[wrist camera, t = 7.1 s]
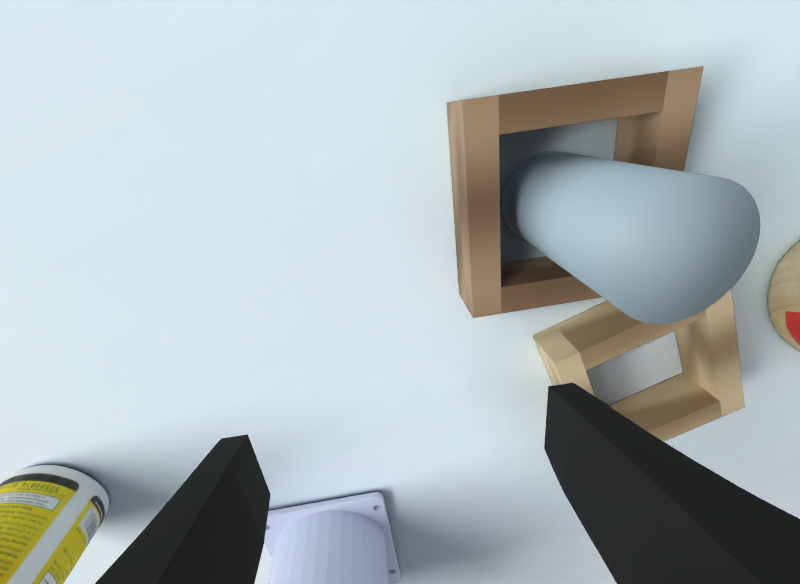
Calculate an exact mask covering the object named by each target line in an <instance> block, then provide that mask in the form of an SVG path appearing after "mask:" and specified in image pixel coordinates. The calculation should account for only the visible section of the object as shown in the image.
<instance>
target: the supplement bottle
mask: <svg viewBox="0 0 800 584" xmlns="http://www.w3.org/2000/svg"><path fill="white" fill-rule="evenodd" d="M108 509H109V498H108V495H107V493H106V491H105V490H104V488H103V487H102V486H101V485H100V484H99V483H98V482H97V481H95V480H94V479H93V478H91V477H89V476H88V475H86V474H84V473H82V472H79V471H77V470H74V469H70V468H67V467H63V466H56V465H40V466H32V467H28V468H24V469H21V470H19V471H17V472H15V473H13V474H12V475H10V476H9V477H8V478H6V479H5V480H4V481H3V482H2V483H1V484H0V584H63V583H64V582H65V580H66V578H67V577H68V575H69V574H70V572H71V571H72V569H73V567H74V566H75V564H76V563H77V561H78V559H79V558H80V556H81V555H82V553H83V552H84V550H85V548H86V547H87V545H88V544H89V542H90V540H91V539H92V537H93V536H94V534H95V533H96V531H97V529H98V528H99V526H100V525H101V523H102V521H103V519H104V518H105V516H106V514H107V511H108Z"/></svg>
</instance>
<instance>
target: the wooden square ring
mask: <svg viewBox="0 0 800 584" xmlns="http://www.w3.org/2000/svg"><path fill="white" fill-rule="evenodd" d="M703 67H704V66H702V67H695V68H688V69H680V70H673V71H666V72H659V73H652V74H645V75H638V76H631V77H624V78H616V79H609V80H602V81H595V82H588V83H581V84H574V85H567V86H559V87H552V88H545V89H538V90H531V91H524V92H517V93H510V94H503V95H495V96H488V97H481V98H474V99H467V100H460V101H454V102H448V103H447V115H448V130H449V145H450V161H451V176H452V191H453V207H454V222H455V237H456V252H457V268H458V283H459V294H460V296H461V298H462V299H463V301H464V303H465V305H466V306H467V308H468V310H469V312H470V313H471V315H472V317H473V318H476V317H482V316H488V315H495V314H501V313H507V312H513V311H519V310H525V309H532V308H538V307H544V306H550V305H556V304H562V303H569V302H575V301H581V300H587V299H593V298H600V297H602V296H600V295H599V294H598V293H596V292H595V291H594V290H592V289H591V288H589V287H588V286H587V285H585V284H584V283H583V282H581V281H580V280H578V279H577V278H576V277H574V276H573V275H572V274H570V273H569V272H568V271H566V270H565V269H563V268H562V267H561V266H559V265H558V264H557V263H555V262H554V261H552V260H551V259H550V258H548V257H547V256H546V257H540V258H534V259H527V260H521V261H514V262H508V263H502V264H501V253H500V170H499V135H500V134H507V133H514V132H521V131H528V130H535V129H542V128H549V127H556V126H563V125H570V124H577V123H583V122H590V121H597V120H604V119H611V118H618V125H617V134H616V143H615V152H614V161H620V162H627V163H633V164H639V165H645V166H652V167H658V168H664V169H670V170H677V171H684V166H685V161H686V156H687V150H688V145H689V140H690V135H691V130H692V124H693V119H694V114H695V109H696V103H697V98H698V93H699V88H700V82H701V77H702V72H703Z"/></svg>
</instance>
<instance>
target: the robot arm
mask: <svg viewBox="0 0 800 584" xmlns="http://www.w3.org/2000/svg"><path fill="white" fill-rule="evenodd" d="M544 449H545V451H546V453H547V456H548V458H549V460H550V463H551V465H552V467H553V470H554V472H555V474H556V476H557V479H558V481H559V483H560V485H561V487H562V489H563V491H564V493H565V495H566V497H567V498H568V500H569V502H570V504H571V505H572V507H573V509H574V511H575V512H576V514H577V516H578V518H579V519H580V521H581V523H582V525H583V526H584V528H585V530H586V531H587V533H588V535H589V537H590V538H591V540H592V542H593V543H594V545H595V547H596V548H597V550H598V552H599V554H600V555H601V557H602V559H603V560H604V562H605V564H606V566H607V567H608V569H609V571H610V572H611V574H612V576H613V577H614V579H615V581H616V583H617V584H800V519H799V518H797V517H795V516H793V515H791V514H789V513H787V512H785V511H783V510H781V509H779V508H777V507H776V506H774V505H772V504H770V503H768V502H766V501H764V500H762V499H760V498H758V497H757V496H755V495H753V494H751V493H749V492H748V491H746V490H744V489H742V488H740V487H738V486H737V485H735V484H733V483H731V482H730V481H728V480H726V479H725V478H723V477H721V476H719V475H718V474H716V473H714V472H713V471H711V470H709V469H707V468H706V467H704V466H702V465H701V464H699V463H697V462H695V461H694V460H692V459H691V458H689V457H687V456H686V455H684V454H682V453H681V452H679V451H677V450H676V449H674V448H673V447H671V446H669V445H668V444H666V443H665V442H663V441H661V440H660V439H658V438H657V437H655V436H654V435H652V434H651V433H649V432H647V431H646V430H644V429H643V428H641V427H640V426H638V425H637V424H635V423H634V422H632V421H631V420H629V419H628V418H626V417H625V416H623V415H622V414H620V413H619V412H617V411H616V410H614V409H613V408H611V407H610V406H608V405H607V404H605V403H604V402H602V401H601V400H599V399H598V398H596V397H595V396H593V395H592V394H590V393H589V392H587V391H586V390H584V389H583V388H581V387H579V386H578V385H576V384H575V383H567V384H561V385H555V386H549V388H548V402H547V417H546V431H545V446H544ZM269 501H270V492H269V490H268V487H267V484H266V482H265V479H264V476H263V474H262V471H261V469H260V466H259V463H258V461H257V458H256V455H255V453H254V450H253V448H252V445H251V442H250V440H249V437H248V435H242V436H235V437H229V438H223V439H221V440H220V441H219V442H218V443H217V444H216V445H215V446H214V448H213V449H212V450H211V451H210V452H209V453H208V455H207V456H206V457H205V458H204V459H203V461H202V462H201V463H200V464H199V465H198V467H197V468H196V469H195V470H194V472H193V473H192V474H191V475H190V476H189V478H188V479H187V480H186V481H185V482H184V484H183V485H182V486H181V487H180V488H179V490H178V491H177V492H176V493H175V494H174V495H173V497H172V498H171V499H170V500H169V501H168V502H167V504H166V505H165V506H164V507H163V508H162V509H161V511H160V512H159V513H158V514H157V515H156V516H155V518H154V519H153V520H152V521H151V522H150V524H149V525H148V526H147V527H146V528H145V529H144V530H143V532H142V533H141V534H140V535H139V536H138V537H137V538H136V539H135V540H134V542H133V543H132V544H131V545H130V546H129V547H128V548H127V549H126V550H125V551H124V552H123V554H122V555H121V556H120V557H119V558H118V559H117V560H116V561H115V562H114V563H113V565H112V566H111V567H110V568H109V569H108V570H107V571H106V572H105V573H104V574H103V576H102V577H101V578H100V579H99V580H98V581H97V582H96V583H95V584H254V582H255V578H256V574H257V570H258V565H259V561H260V557H261V553H262V549H263V544H264V542H265V544H266V547H267V549H268V551H269V553H270V555H271V557H272V565H271V570H270V575H269V581H268V584H394V583H397V582H399V581H400V579H401V576H400V570H399V565H398V561H397V556H396V552H395V547H394V543H393V538H392V533H391V529H390V524H389V520H388V515H387V511H386V506H385V501H384V497H383V495H382V494H381V493H379V492H373V493H367V494H361V495H356V496H350V497H345V498H339V499H333V500H328V501H322V502H316V503H311V504H305V505H300V506H294V507H288V508H283V509H277V510H271V511H268V509H269Z"/></svg>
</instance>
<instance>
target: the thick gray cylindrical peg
mask: <svg viewBox="0 0 800 584" xmlns="http://www.w3.org/2000/svg"><path fill="white" fill-rule="evenodd" d="M502 206H503V214H504V217H505V220H506V222H507V224H508V226H509V227H510V228H511V230H512V231H513V232H514V233H515V234H517V235H518V236H520V237H521V238H522V239H524V240H525V241H526V242H528V243H529V244H530V245H532V246H533V247H535V248H536V249H537V250H539V251H540V252H541V253H543V254H544V255H546V256H547V257H548V258H550V259H551V260H552V261H554V262H555V263H557V264H558V265H559V266H561V267H562V268H563V269H565V270H566V271H568V272H569V273H570V274H572V275H573V276H574V277H576V278H577V279H578V280H580V281H581V282H583V283H584V284H585V285H587V286H588V287H589V288H591V289H592V290H594V291H595V292H596V293H598V294H599V295H600V296H602V297H603V298H605V299H606V300H607V301H609V302H610V303H611V304H613V305H614V306H615V307H617V308H618V309H620V310H621V311H622V312H624V313H625V314H627V315H628V316H629V317H631V318H633V319H635V320H637V321H641V322H644V323H651V324H665V323H672V322H677V321H681V320H683V319H686V318H689V317H691V316H694V315H696V314H698V313H700V312H702V311H703V310H705V309H707V308H708V307H710V306H711V305H713V304H714V303H716V302H717V301H718V300H719V299H721V298H722V297H723V296H724V295H725V294H726V293H727V292H728V291H729V290H730V289H731V288H732V287H733V286H734V285H735V284H736V282H737V281H738V280H739V279H740V277H741V276H742V275H743V273H744V272H745V270H746V268H747V267H748V265H749V263H750V261H751V259H752V257H753V255H754V252H755V250H756V247H757V243H758V239H759V233H760V216H759V211H758V207H757V205H756V203H755V200H754V199H753V197H752V196H751V194H750V193H749V192H748V191H747V190H746V189H745V188H744V187H742V186H741V185H739V184H738V183H736V182H734V181H731V180H729V179H725V178H720V177H714V176H708V175H702V174H695V173H689V172H683V171H677V170H670V169H664V168H658V167H652V166H645V165H639V164H633V163H627V162H620V161H614V160H608V159H602V158H595V157H589V156H583V155H577V154H570V153H564V152H557V151H550V152H544V153H540V154H537V155H535V156H533V157H531V158H529V159H528V160H526V161H525V162H524V163H522V164H521V165H520V166H519V167H518V168H517V169H516V170H515V172H514V173H513V174H512V176H511V177H510V179H509V181H508V183H507V185H506V187H505V191H504V195H503V204H502Z"/></svg>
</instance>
